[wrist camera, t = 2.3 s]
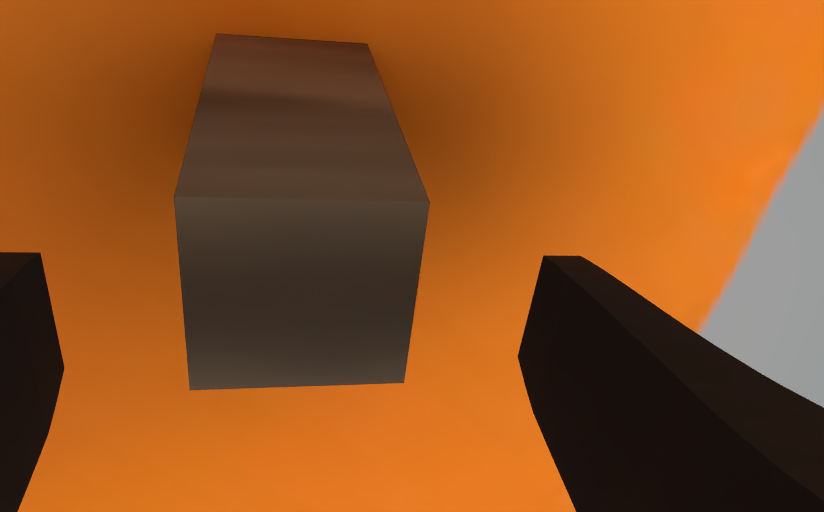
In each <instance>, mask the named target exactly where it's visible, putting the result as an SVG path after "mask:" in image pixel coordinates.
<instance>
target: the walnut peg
mask: <svg viewBox="0 0 824 512" xmlns="http://www.w3.org/2000/svg"><path fill="white" fill-rule="evenodd" d="M174 203H175V215H176V227H177V240H178V252H179V264H180V276H181V289H182V301H183V313H184V325H185V337H186V350H187V362H188V374H189V386H190V390H208V389H237V388H267V387H297V386H327V385H356V384H386V383H404V378H405V371H406V364H407V357H408V350H409V344H410V337H411V330H412V323H413V316H414V309H415V302H416V295H417V288H418V281H419V274H420V267H421V260H422V253H423V246H424V239H425V232H426V225H427V218H428V211H429V204H430V201H429V199H428V196H427V194H426V191H425V189H424V186H423V184H422V181H421V179H420V176H419V174H418V171H417V169H416V166H415V164H414V161H413V159H412V156H411V153H410V151H409V148H408V146H407V143H406V141H405V138H404V136H403V133H402V131H401V128H400V126H399V123H398V121H397V118H396V116H395V113H394V111H393V108H392V105H391V103H390V100H389V98H388V95H387V93H386V90H385V88H384V85H383V83H382V80H381V78H380V75H379V73H378V70H377V68H376V65H375V63H374V60H373V58H372V55H371V52H370V50H369V47H368V45H367V44H361V43H346V42H331V41H316V40H302V39H287V38H272V37H258V36H243V35H228V34H216V37H215V40H214V44H213V48H212V52H211V56H210V60H209V64H208V67H207V71H206V75H205V79H204V83H203V87H202V91H201V94H200V98H199V102H198V106H197V110H196V114H195V118H194V121H193V125H192V129H191V133H190V137H189V141H188V145H187V148H186V152H185V156H184V160H183V164H182V168H181V172H180V175H179V179H178V183H177V187H176V191H175V195H174Z"/></svg>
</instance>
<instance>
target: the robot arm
mask: <svg viewBox="0 0 824 512" xmlns="http://www.w3.org/2000/svg"><path fill="white" fill-rule="evenodd" d="M518 359H519V363H520V367H521V371H522V375H523V379H524V382H525V386H526V390H527V393H528V396H529V400H530V403H531V407H532V410H533V413H534V415H535V418H536V420H537V423H538V425H539V427H540V430H541V432H542V434H543V437H544V439H545V441H546V444H547V446H548V448H549V451H550V453H551V455H552V458H553V460H554V462H555V464H556V467H557V469H558V471H559V473H560V476H561V478H562V480H563V482H564V485H565V487H566V489H567V492H568V494H569V496H570V498H571V501H572V503H573V505H574V507H575V510H576V512H824V408H823V407H821V406H819V405H817V404H816V403H814V402H812V401H810V400H808V399H806V398H804V397H802V396H800V395H798V394H797V393H795V392H793V391H791V390H789V389H787V388H785V387H783V386H782V385H780V384H778V383H776V382H775V381H773V380H771V379H769V378H768V377H766V376H764V375H762V374H761V373H759V372H757V371H756V370H754V369H752V368H751V367H749V366H747V365H746V364H744V363H743V362H741V361H739V360H738V359H736V358H734V357H733V356H731V355H730V354H728V353H726V352H724V351H723V350H722V349H720V348H718V347H717V346H715V345H714V344H712V343H710V342H709V341H707V340H706V339H704V338H703V337H701V336H700V335H698V334H697V333H695V332H694V331H692V330H691V329H689V328H688V327H686V326H685V325H683V324H682V323H680V322H679V321H677V320H676V319H674V318H673V317H671V316H670V315H669V314H667V313H666V312H664V311H663V310H661V309H660V308H658V307H657V306H655V305H654V304H653V303H651V302H650V301H648V300H647V299H645V298H644V297H642V296H641V295H640V294H638V293H637V292H635V291H634V290H632V289H631V288H629V287H628V286H627V285H625V284H624V283H622V282H621V281H619V280H618V279H616V278H615V277H613V276H612V275H610V274H609V273H607V272H606V271H604V270H603V269H601V268H600V267H598V266H597V265H595V264H593V263H592V262H590V261H588V260H586V259H585V258H583V257H581V256H543V260H542V263H541V267H540V271H539V275H538V279H537V283H536V287H535V291H534V295H533V299H532V303H531V307H530V310H529V314H528V318H527V322H526V326H525V330H524V334H523V338H522V342H521V346H520V350H519V354H518ZM63 372H64V364H63V359H62V354H61V350H60V345H59V340H58V335H57V330H56V326H55V321H54V316H53V311H52V306H51V302H50V297H49V292H48V287H47V283H46V278H45V273H44V268H43V263H42V259H41V254H40V253H14V252H0V512H17V511H18V509H19V506H20V504H21V502H22V499H23V497H24V494H25V492H26V489H27V487H28V484H29V482H30V479H31V477H32V474H33V471H34V469H35V466H36V464H37V461H38V459H39V456H40V454H41V451H42V449H43V446H44V443H45V441H46V438H47V436H48V433H49V429H50V425H51V421H52V418H53V414H54V410H55V406H56V402H57V398H58V393H59V389H60V385H61V380H62V376H63Z"/></svg>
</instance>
